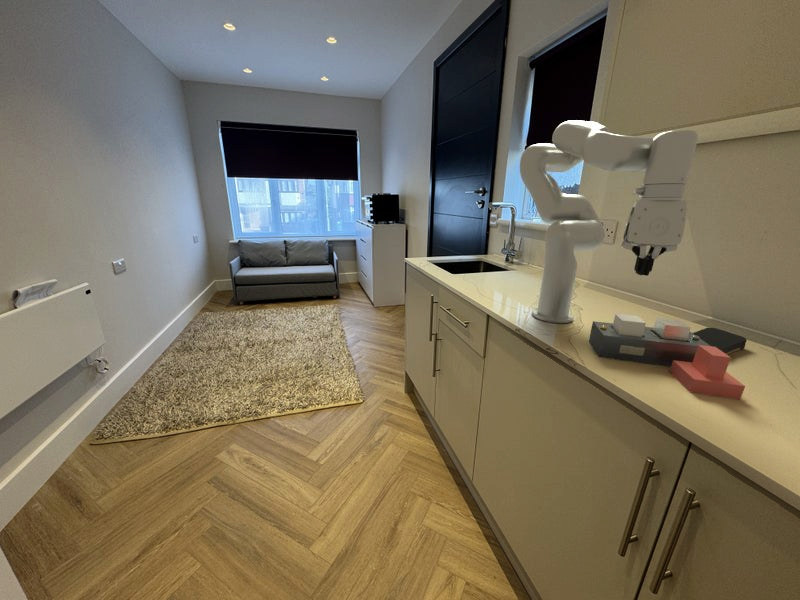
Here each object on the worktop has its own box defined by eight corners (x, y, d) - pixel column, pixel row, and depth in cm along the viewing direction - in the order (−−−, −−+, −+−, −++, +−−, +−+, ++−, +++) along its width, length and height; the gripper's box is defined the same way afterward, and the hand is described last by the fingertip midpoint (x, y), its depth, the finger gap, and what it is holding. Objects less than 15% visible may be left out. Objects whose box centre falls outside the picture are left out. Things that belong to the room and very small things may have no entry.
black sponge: (706, 337, 93) (710, 326, 91) (746, 350, 85) (750, 337, 84) (675, 348, 86) (679, 335, 85) (715, 362, 79) (720, 348, 78)
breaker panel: (588, 341, 89) (595, 309, 86) (682, 352, 83) (693, 318, 80) (599, 357, 79) (607, 322, 76) (706, 371, 73) (719, 334, 70)
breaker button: (612, 328, 84) (615, 313, 82) (633, 330, 82) (637, 316, 81) (618, 335, 79) (622, 320, 78) (641, 338, 78) (645, 322, 76)
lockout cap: (669, 371, 73) (679, 340, 71) (714, 377, 71) (725, 345, 68) (689, 391, 65) (701, 357, 63) (740, 399, 63) (754, 363, 61)
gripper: (628, 192, 69) (611, 275, 74) (713, 193, 65) (687, 280, 70) (617, 193, 76) (601, 269, 81) (692, 194, 72) (671, 273, 77)
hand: (641, 274), depth 76 cm, fingers closed
